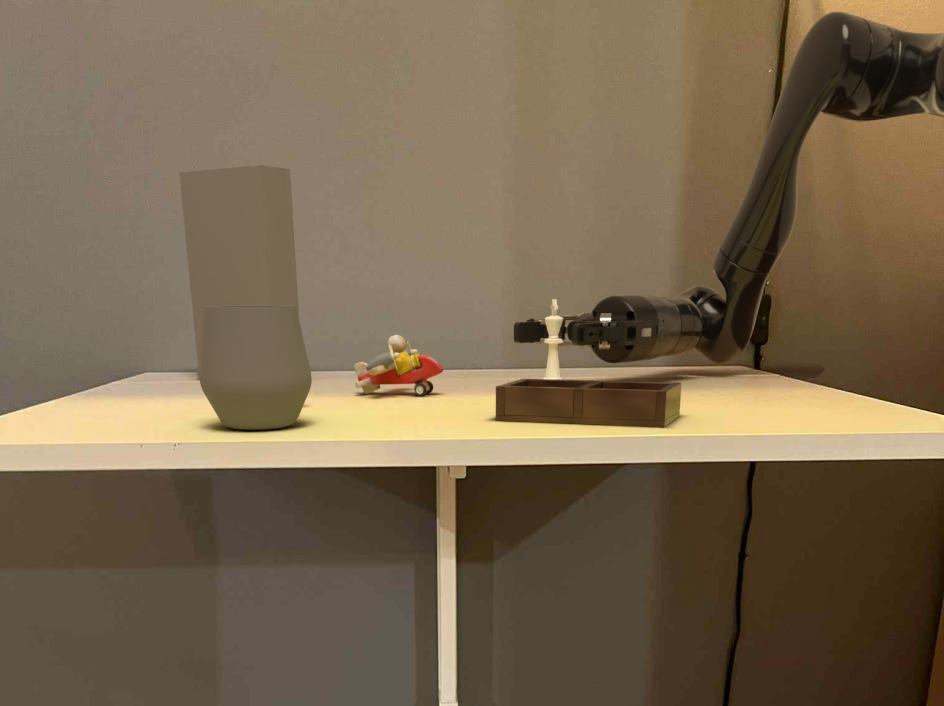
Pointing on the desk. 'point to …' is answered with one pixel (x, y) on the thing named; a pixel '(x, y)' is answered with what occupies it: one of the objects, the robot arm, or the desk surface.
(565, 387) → the divided tray
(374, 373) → the toy airplane
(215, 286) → the khaki block
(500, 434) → the desk surface
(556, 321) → the chess piece
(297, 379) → the cup
